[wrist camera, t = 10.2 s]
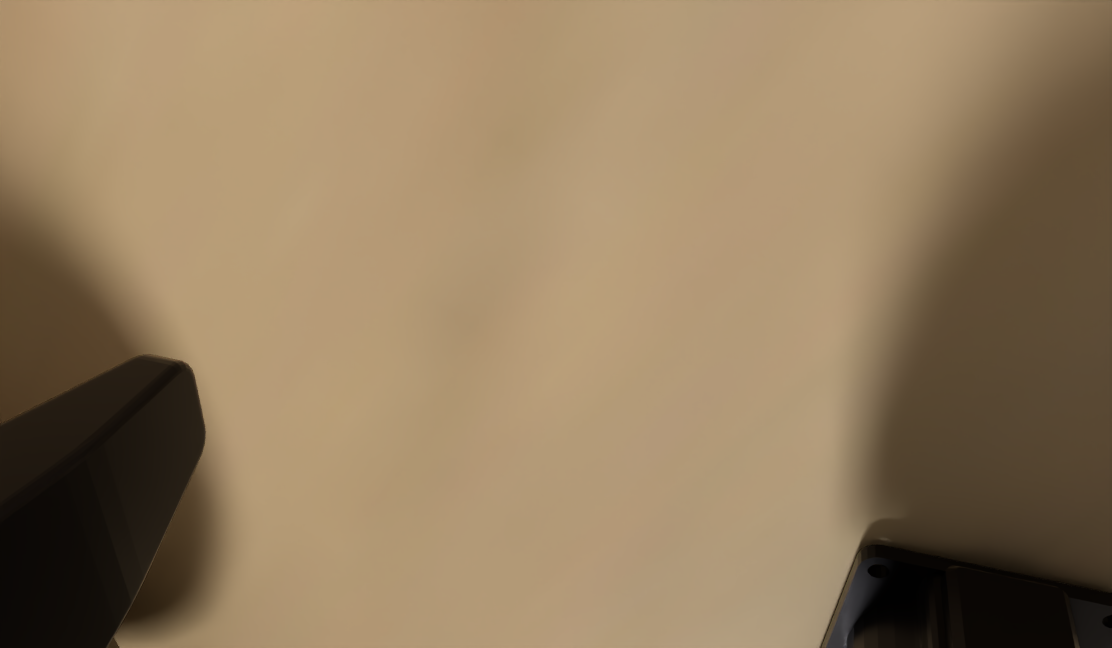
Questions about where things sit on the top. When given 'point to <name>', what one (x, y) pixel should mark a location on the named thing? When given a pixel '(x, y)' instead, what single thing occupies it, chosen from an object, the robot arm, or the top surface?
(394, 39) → the top surface
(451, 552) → the top surface
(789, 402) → the top surface
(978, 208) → the top surface
